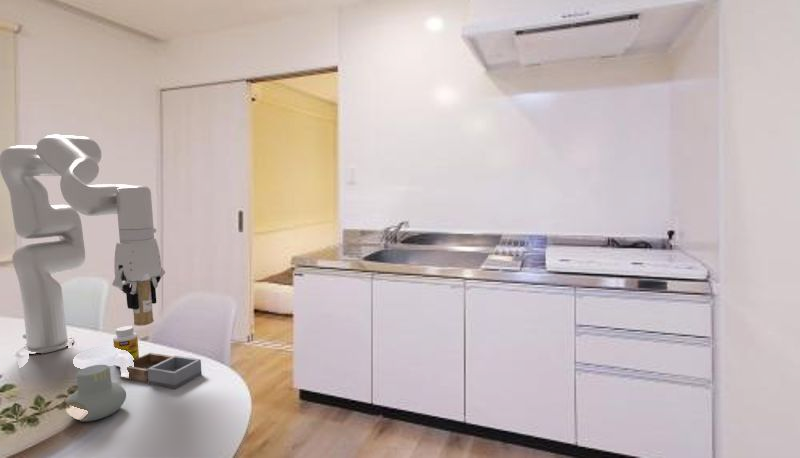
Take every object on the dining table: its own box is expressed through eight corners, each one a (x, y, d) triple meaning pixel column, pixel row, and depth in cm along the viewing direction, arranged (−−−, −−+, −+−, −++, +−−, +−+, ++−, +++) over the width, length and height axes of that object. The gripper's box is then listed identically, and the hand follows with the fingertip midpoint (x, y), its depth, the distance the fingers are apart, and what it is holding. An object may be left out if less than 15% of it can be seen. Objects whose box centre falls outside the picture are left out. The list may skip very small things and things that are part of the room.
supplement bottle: (118, 370, 117) (114, 333, 116) (113, 364, 121) (110, 328, 120) (142, 364, 121) (138, 328, 120) (136, 358, 125) (133, 323, 124)
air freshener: (133, 408, 98) (129, 365, 96) (97, 429, 90) (92, 382, 89) (98, 400, 101) (94, 358, 100) (60, 419, 94) (55, 374, 92)
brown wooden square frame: (120, 377, 113) (119, 366, 113) (150, 363, 121) (150, 352, 121) (147, 382, 110) (146, 370, 110) (176, 367, 118) (175, 356, 118)
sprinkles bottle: (154, 324, 114) (150, 272, 112) (133, 327, 111) (129, 275, 109) (153, 319, 117) (149, 269, 116) (132, 322, 115) (128, 271, 113)
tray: (148, 384, 109) (147, 368, 108) (176, 370, 117) (175, 355, 116) (175, 389, 106) (174, 373, 106) (201, 374, 114) (200, 359, 114)
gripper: (154, 230, 121) (158, 295, 123) (93, 239, 105) (100, 314, 107) (175, 231, 118) (180, 298, 120) (116, 240, 102) (123, 317, 105)
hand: (142, 305), depth 114 cm, fingers closed on sprinkles bottle, 4 cm apart
